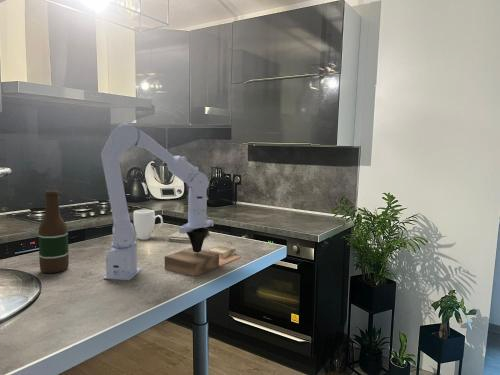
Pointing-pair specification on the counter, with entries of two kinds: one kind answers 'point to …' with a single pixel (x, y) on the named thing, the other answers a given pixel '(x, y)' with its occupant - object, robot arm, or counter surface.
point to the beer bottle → (53, 237)
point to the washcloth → (180, 238)
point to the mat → (228, 259)
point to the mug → (145, 223)
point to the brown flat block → (191, 262)
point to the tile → (223, 251)
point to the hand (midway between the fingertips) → (196, 251)
